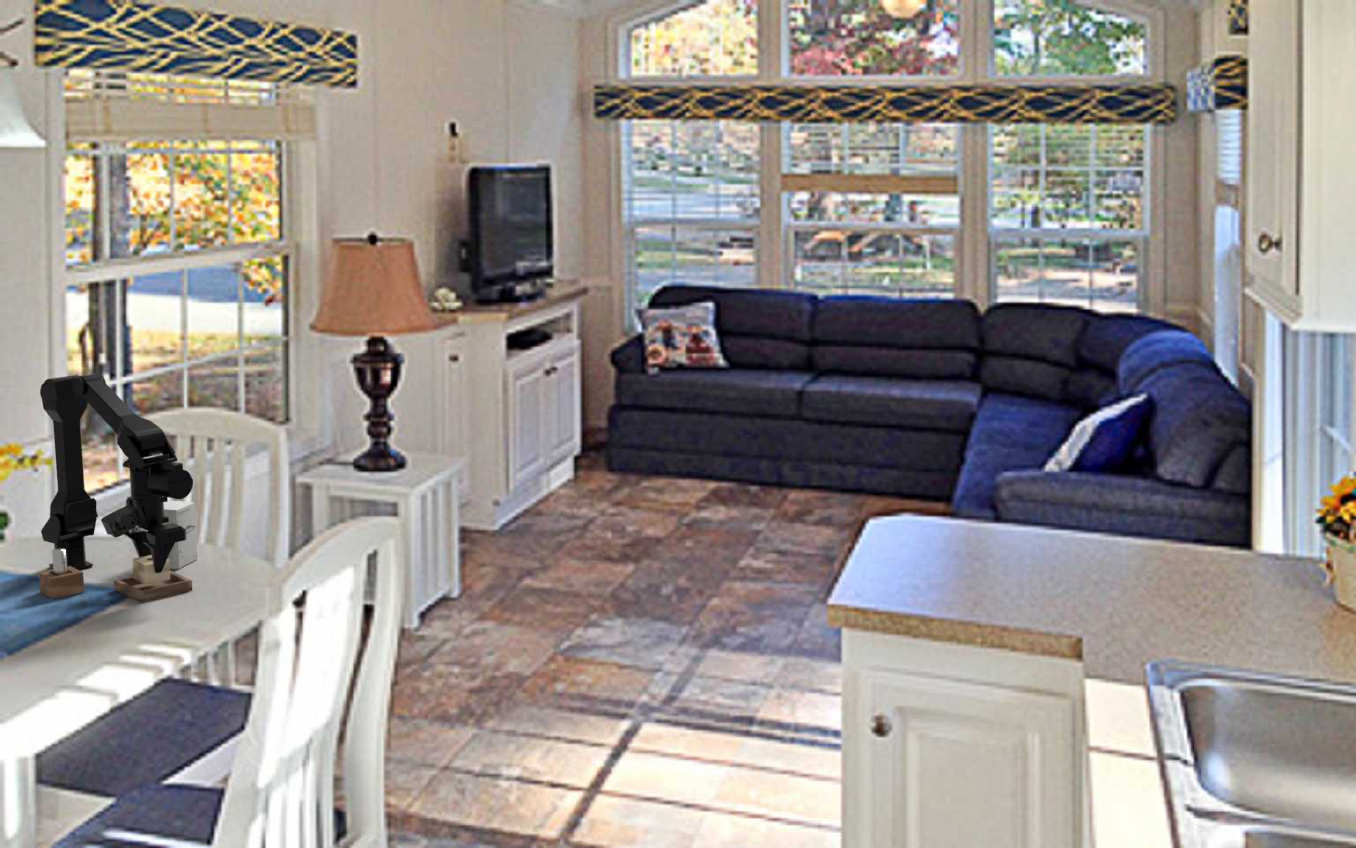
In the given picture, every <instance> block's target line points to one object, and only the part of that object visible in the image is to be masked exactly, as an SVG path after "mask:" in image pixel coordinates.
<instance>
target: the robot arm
mask: <svg viewBox="0 0 1356 848" xmlns="http://www.w3.org/2000/svg"><path fill="white" fill-rule="evenodd" d="M39 389H40V391H39V394H40V395H39V396H40V398H41V402H42V409H43V410H44V411H45V412H46V414H47V415H48V416H49V418H50V419H51V420H52V427H53V439H54V454H55V466H56V467H55V468H56V469H55V470H56V482H57V485H56V486H57V492H56V494H55V495H54V498H53V499H52V501H51V503H50V505H49V506H50V507H49V518H48V520H47V521H46V522H45V524H44V526H43V527H42V529H41V530H40V533H41V536H42V539H43V542H47V543H51V544H53V547H54V549H58V548H64V549H66V560H67V566H71V567H73V568H75V569H77V570H82V569H87V568H91V567H93V566H94V564H93V563H92V562H91V561H90V562H89V561H88V560H87V557H86V544H85V537H88V536H89V537H90V536H94V534H95V531H96V524H97V518H99V515H98V512H97V500H96V498H94V497H92V496H90V495H89V493H88V492H87V491H86V489H85V487H86V486H85V475H84V474H85V473H84V472H85V471H84V461H83V445H82V429H81V420H82V417H83V416H84V413H85V412H86V411H87V408H88V404H89V406H90V407H91V408H92V409H93V410H94V412H96V413H97V415H99V417H101V418H102V419H103V421H104V422H105V423H106V424H107V425H108V426H109V427H110V428H111V429H112V430H113V431H114V434H116V443H117V445H118V447H119V448H120V450H121V451H122V453H123V454H124V455H125V457H127V459H126V460H125V461H124V462H123V463H122V467H123V468H127V469H129V478H130V479H129V482H130V483H129V485H130V496H127V499H125V506H123V507H121V508H118V509H116V510H114V511H112V512H110V513H109V514H107V515H105V516H103V517H101V519H100V521H101V523H102V526H103V528H104V530H105V531H106V534H107V535H111V536H112V537H113V538H120V537H121V536H125V537H127V538H129V540H131V541H132V543H133V546H134V548H135V550H136V554H137V556H138V558H139V557H143V556H148V555H152V560H153V565H154V569H155V572H156V573H160V572H162V570H163V567H164V565H165V563H166V561H167V558H168V556H169V554H170V552H171V550H172V548H173V546H174V544H175V542H180V541H184V540H186V539H187V538H186V530H185V529H184V528H183V527H182V526H179V525H177V524H174V523H170V524H165V525H162V523H167V522H169V517H167V516H165V515H164V502H168V501H169V499H168V498H170V499H173V500H183V499H185V498H187V497H188V496H189V495H190V493H191V492H192V490H193V486H194V479H193V477H192V475H191V474H190V472H189V471H187V469H184V464H183V463H182V462H178V457H177V455H176V454H175V453H176V451H175V450H174V449H173V446H171V444H170V441H169V440H168V438H167V436H166V434H165V432H164V430H163V429H162V428H161V427H160V426H158V425H157V424H155V423H154V422H153V421H152V420H150V419H147V418H145V417H141V416H139V415H137V414H136V413H134V411H133V410H132V409H131V408H130V407H129V406H128V405H127V403H126V402H124V400H123V399H121V398H120V396H119V395H117V393H116V392H115V391H114V390H113V389H112V388H111V387H110V386H109V384H107V383H106V379H105V377H104V376H103V375H102V374H98V373H92V374H84V375H78V374H74V375H67V376H59V377H52V378H47V379H45V380H44V382H43V383H42V384H41V386H40V388H39ZM48 567H49V568H52V569H53V562H52V563H49V565H48Z"/></svg>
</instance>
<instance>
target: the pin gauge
mask: <svg viewBox="0 0 1356 848" xmlns="http://www.w3.org/2000/svg"><path fill="white" fill-rule="evenodd" d="M51 555H52V563H53V568H52V569H54V576H58V575H63V574H68V573H67V560H66V549H64V548H58V549H52V550H51Z"/></svg>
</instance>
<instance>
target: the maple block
mask: <svg viewBox="0 0 1356 848" xmlns="http://www.w3.org/2000/svg"><path fill="white" fill-rule="evenodd" d="M170 571H171V569H170V560H169V559H167V561H166V563H165V565H164V567H163V570H162V572H160V573H156V572H155V569H154V565H153V560H152V555H148V556H143V557H139V556H138V557H135V558H132V573H133V575H132V576H133V578H134V579H136V580H137V581H139V582H141V583H143V584H145V585H148V584H153V583H157V582H161V581H166V580H170Z"/></svg>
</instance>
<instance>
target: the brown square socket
mask: <svg viewBox="0 0 1356 848" xmlns="http://www.w3.org/2000/svg"><path fill="white" fill-rule="evenodd" d="M67 573H68V574H63V575H58V576H54V569H53V568H52V569H48V570H43V571H39V572H38V581H39V592H40V593H42V594H43V595H45V596H46V597H48V598H50V597H51V598H50V599H52V598H53V599H52V600H55V599H54V598H56V599H60V598H59V597H61V598H65V597H68V596H74V595H77V594H83V593H85V580H84V572H83V571H81V570H80V569H78V570H77V569H75V568H73V567H71V566H67Z"/></svg>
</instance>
